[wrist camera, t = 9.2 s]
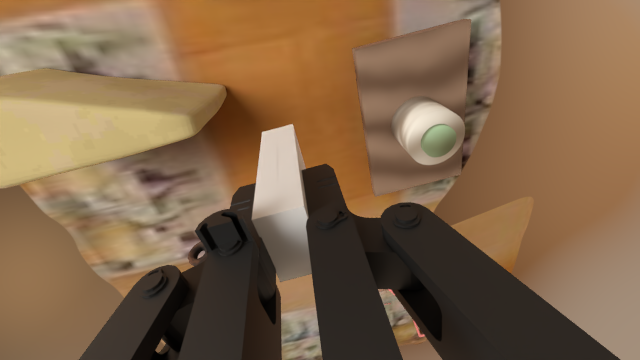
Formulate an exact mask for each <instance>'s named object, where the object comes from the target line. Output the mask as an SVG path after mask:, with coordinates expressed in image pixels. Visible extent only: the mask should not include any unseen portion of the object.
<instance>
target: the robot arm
mask: <svg viewBox="0 0 640 360" xmlns="http://www.w3.org/2000/svg"><path fill="white" fill-rule="evenodd" d="M195 232H196V234H197V235H198V237H199V239H200V240H201V242H202V243H203V245H204V247H205V248H206V250H207V251H208V254H207V258H206V260H205V261H203V262H202V263H200V264H198V265H196V266H194V267H192V268H190V269H188V270H186V271H184V272H182V273H181V272H180V270H179V269H178V268H177V267H176V266H172V265H166V266H162V267H158V268H156V269H154V270H152V271H150V272H149V273H147V274H146V275H145V276H143V277H142V278H141V279H140V280H139V281H138V282H137V283H136V284H135V285H134V286H133V288H132V289H131V290H130V292H129V293H128V294H127V296H126V297H125V298H124V300H123V301H122V302H121V304H120V305H119V307H118V308H117V309H116V310H115V312H114V313H113V315H112V316H111V317H110V319H109V320H108V321H107V323H106V324H105V325H104V327H103V328H102V329H101V331H100V332H99V333H98V335H97V336H96V337H95V339H94V340H93V341H92V343H91V344H90V346H89V347H88V348H87V349H86V351H85V352H84V354H83V355H82V356H81V358H80V359H79V360H282V354H281V296H280V292H279V290H278V288H277V285H276V274H277V276H278V278H279V280H280V282H283V281H286V280H290V279H294V278H298V277H302V276H306V275H309V274H312V278H313V286H314V294H315V302H316V310H317V318H318V326H319V333H320V341H321V349H322V357H323V360H403V359H402V356H401V353H400V351H399V347H398V345H397V342H396V339H395V336H394V333H393V330H392V328H391V325H390V322H389V319H388V316H387V314H386V311H385V308H384V305H383V302H382V300H381V297H380V294H379V291H378V289H392V291H393V293H394V294H395V296H396V297H397V298H398V300H399V301H400V302H401V304H402V305H403V307H404V308H405V309H406V311H407V312H408V313H409V315H410V316H411V317H412V319H413V320H414V321H415V323H416V324H417V326H418V327H419V328H420V330H421V331H422V332H423V334H424V335H425V336H426V338H427V339H428V340H429V342H430V343H431V345H432V346H433V347H434V349H435V350H436V351H437V353H438V354H439V355H440V357H441V358H442V359H443V360H620V359H619V358H618V357H616V356H615V355H614V354H612V353H611V352H610V351H609V350H607V349H606V348H605V347H604V346H602V345H601V344H600V343H599V342H597V341H596V340H595V339H593V338H592V337H591V336H590V335H588V334H587V333H586V332H585V331H583V330H582V329H581V328H579V327H578V326H577V325H575V324H574V323H573V322H572V321H570V320H569V319H568V318H567V317H565V316H564V315H563V314H561V313H560V312H559V311H558V310H556V309H555V308H554V307H553V306H551V305H550V304H549V303H548V302H546V301H545V300H544V299H542V298H541V297H540V296H539V295H537V294H536V293H535V292H533V291H532V290H531V289H529V288H528V287H527V286H526V285H525V284H523V283H522V282H521V281H519V280H518V279H517V278H516V277H514V276H513V275H512V274H511V273H509V272H508V271H507V270H505V269H504V268H503V267H502V266H500V265H499V264H498V263H497V262H495V261H494V260H493V259H491V258H490V257H489V256H488V255H486V254H485V253H484V252H482V251H481V250H480V249H479V248H477V247H476V246H475V245H474V244H472V243H471V242H470V241H468V240H467V239H466V238H465V237H463V236H462V235H461V234H460V233H458V232H457V231H456V230H454V229H453V228H452V227H451V226H449V225H448V224H447V223H445V222H444V221H443V220H442V219H440V218H439V217H438V216H436V215H435V214H434V213H433V212H431V211H430V210H429V209H428V208H426V207H424V206H422V205H420V204H416V203H411V202H409V203H398V204H395V205H392V206H390V207H389V208H387V209H386V210H385V211H384V212H383V214H382V215H381V218H364V217H360V216H357V215H355V214H352V213H351V212H350V211H349V210H348V208H347V206H346V203H345V201H344V198H343V195H342V192H341V189H340V186H339V184H338V181H337V178H336V175H335V172H334V169H333V168H332V167H330V166H329V165H327V164H323V165H319V166H315V167H312V168H308V169H306V167H305V164H304V161H303V157H302V154H301V150H300V147H299V143H298V140H297V137H296V133H295V130H294V126H293V124H291V125H287V126H283V127H280V128H276V129H272V130H268V131H264V132H262V138H261V146H260V155H259V163H258V171H257V179H256V183H254V184H250V185H247V186H243V187H240V188H239V189H238V190H237V191H236V193H235V194H234V195H233V197H232V202H231V206H230V209H226V210H221V211H219V212H216V213H213V214H212V215H210V216H209V217H207V218H205V219H204V220H203V221H202V222H201V223H200V224H199V225H198V227H197V228H196V230H195ZM161 339H162V340H163V341H164V342H165V343H166V344H165V346H164V348H163V349H162V350H161V351H160V352H159V353H157V352H156V351H155V349H156V348H157V346H158V344H159V342H160V341H161Z"/></svg>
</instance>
